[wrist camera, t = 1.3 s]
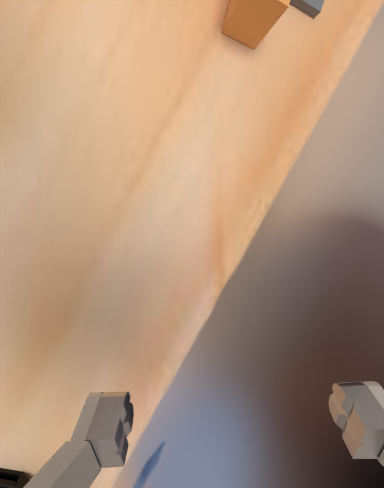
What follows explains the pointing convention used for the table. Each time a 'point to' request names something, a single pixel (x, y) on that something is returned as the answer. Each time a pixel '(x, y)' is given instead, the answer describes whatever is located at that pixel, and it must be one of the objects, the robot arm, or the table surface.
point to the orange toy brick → (252, 19)
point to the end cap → (12, 479)
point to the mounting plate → (308, 6)
